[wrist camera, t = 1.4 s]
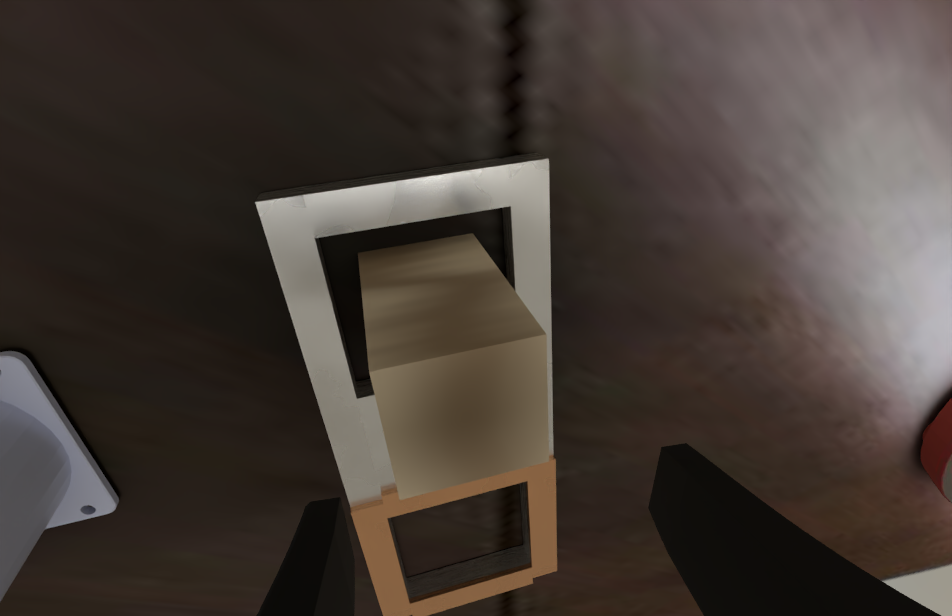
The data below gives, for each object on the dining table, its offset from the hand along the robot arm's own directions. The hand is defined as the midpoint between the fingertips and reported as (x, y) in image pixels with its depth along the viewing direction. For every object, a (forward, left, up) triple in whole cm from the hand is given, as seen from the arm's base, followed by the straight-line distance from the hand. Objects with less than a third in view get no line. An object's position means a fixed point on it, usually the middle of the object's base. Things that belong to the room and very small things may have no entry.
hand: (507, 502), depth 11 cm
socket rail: (0, -7, -11) cm, 13 cm away
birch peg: (0, 0, -11) cm, 11 cm away
